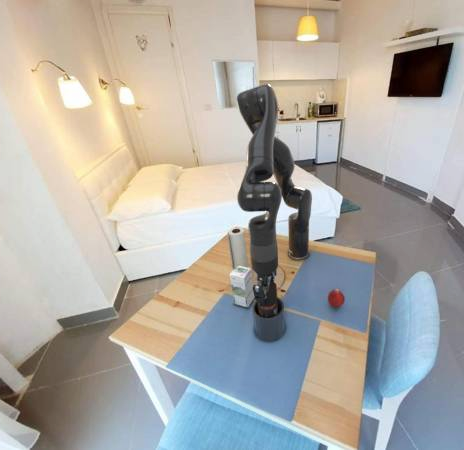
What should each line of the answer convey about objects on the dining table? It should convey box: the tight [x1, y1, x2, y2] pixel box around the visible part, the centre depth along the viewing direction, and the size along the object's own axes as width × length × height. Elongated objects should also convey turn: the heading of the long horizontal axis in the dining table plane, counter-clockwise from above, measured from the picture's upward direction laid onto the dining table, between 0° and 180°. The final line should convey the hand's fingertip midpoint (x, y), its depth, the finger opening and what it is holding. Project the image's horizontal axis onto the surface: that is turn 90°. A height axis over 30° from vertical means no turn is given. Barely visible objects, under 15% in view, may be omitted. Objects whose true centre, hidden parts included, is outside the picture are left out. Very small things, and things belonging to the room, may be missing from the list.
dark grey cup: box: [251, 296, 286, 342], centre depth 80 cm, size 10×10×10 cm
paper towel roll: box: [227, 226, 249, 271], centre depth 102 cm, size 7×6×21 cm
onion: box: [327, 288, 346, 308], centre depth 88 cm, size 6×6×8 cm
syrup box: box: [229, 265, 255, 308], centre depth 90 cm, size 6×6×14 cm
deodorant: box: [258, 281, 278, 318], centre depth 78 cm, size 6×6×15 cm
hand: (267, 297), depth 76 cm, fingers closed on deodorant, 6 cm apart
